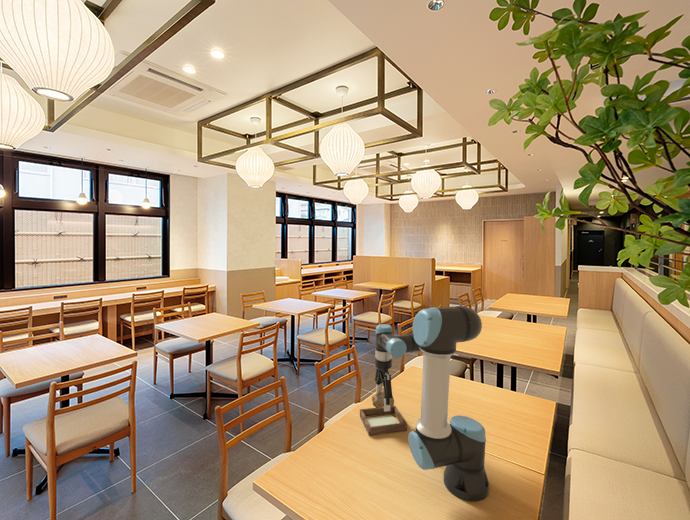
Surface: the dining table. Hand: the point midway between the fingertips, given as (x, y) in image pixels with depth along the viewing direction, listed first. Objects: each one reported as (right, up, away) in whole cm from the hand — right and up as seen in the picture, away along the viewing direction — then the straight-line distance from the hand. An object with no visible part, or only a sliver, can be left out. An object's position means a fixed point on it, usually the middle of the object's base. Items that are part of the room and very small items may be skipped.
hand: (382, 404), depth 155 cm
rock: (0, -2, +1) cm, 2 cm away
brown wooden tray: (0, -9, +1) cm, 9 cm away
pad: (0, -9, +1) cm, 9 cm away
